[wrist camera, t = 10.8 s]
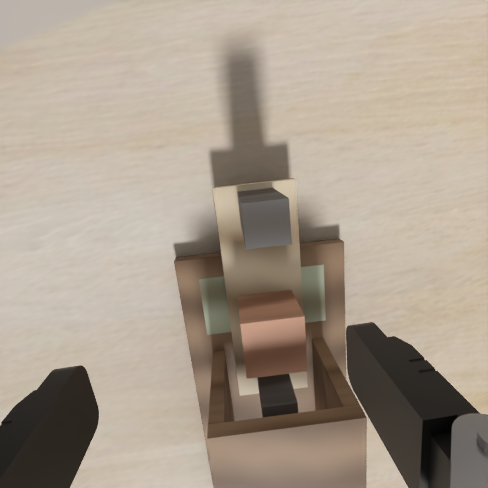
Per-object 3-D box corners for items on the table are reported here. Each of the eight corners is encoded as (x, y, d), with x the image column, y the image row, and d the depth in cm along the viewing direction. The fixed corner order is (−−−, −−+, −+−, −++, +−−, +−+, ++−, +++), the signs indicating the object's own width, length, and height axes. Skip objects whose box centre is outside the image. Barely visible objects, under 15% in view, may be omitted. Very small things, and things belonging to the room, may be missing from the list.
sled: (213, 187, 27) (208, 199, 19) (293, 178, 27) (320, 186, 19) (239, 388, 33) (243, 460, 25) (305, 380, 33) (329, 448, 25)
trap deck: (176, 257, 30) (147, 315, 19) (339, 238, 30) (403, 284, 19) (215, 488, 38) (211, 621, 27) (344, 470, 39) (391, 595, 28)
